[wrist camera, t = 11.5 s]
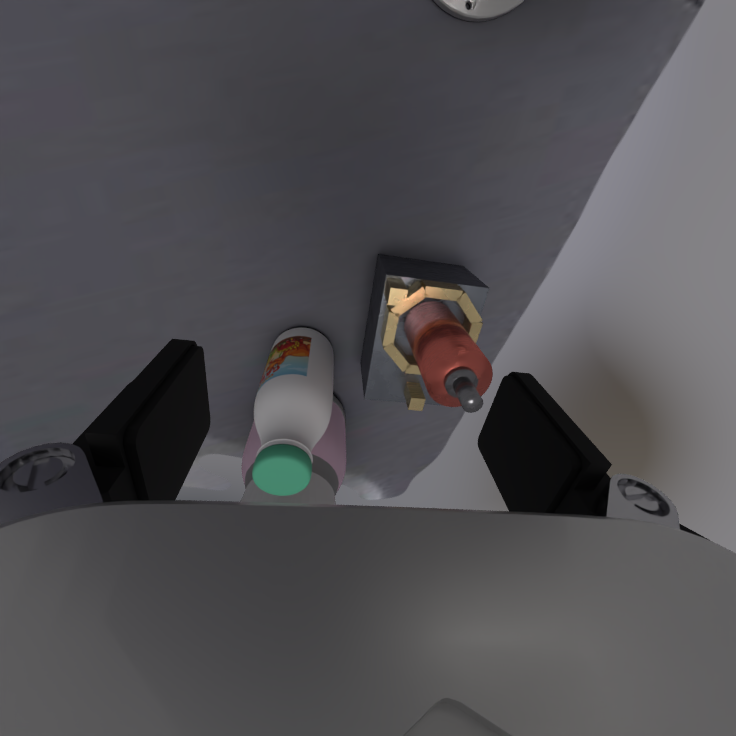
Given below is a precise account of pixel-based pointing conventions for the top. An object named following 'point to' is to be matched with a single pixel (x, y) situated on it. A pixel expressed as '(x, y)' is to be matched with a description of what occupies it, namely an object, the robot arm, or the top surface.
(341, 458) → the blender
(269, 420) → the milk bottle
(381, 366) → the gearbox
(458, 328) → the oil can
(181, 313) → the top surface
